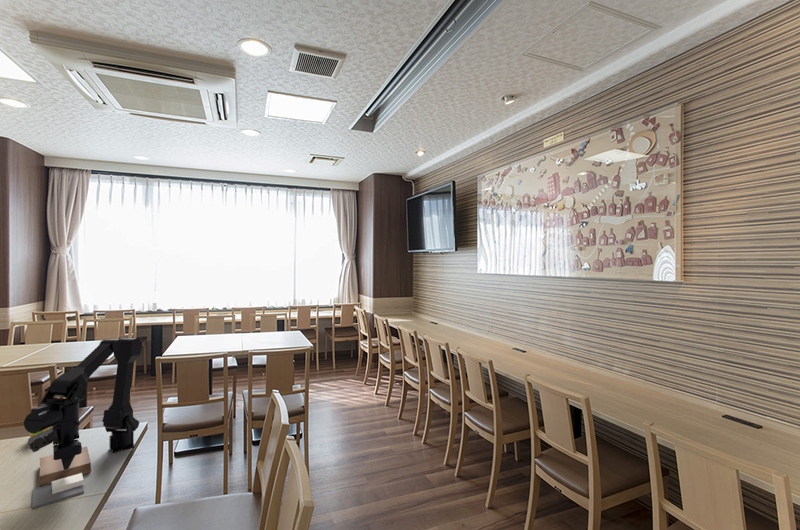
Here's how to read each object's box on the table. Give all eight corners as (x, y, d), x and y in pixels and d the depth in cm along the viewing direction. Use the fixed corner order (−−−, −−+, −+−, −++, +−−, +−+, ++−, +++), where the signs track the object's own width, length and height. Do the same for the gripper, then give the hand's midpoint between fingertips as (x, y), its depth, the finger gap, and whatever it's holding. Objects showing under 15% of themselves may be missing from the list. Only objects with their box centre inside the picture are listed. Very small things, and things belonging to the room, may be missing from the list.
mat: (81, 476, 121) (81, 475, 121) (83, 492, 113) (83, 491, 113) (32, 490, 113) (32, 488, 113) (31, 509, 105) (31, 507, 105)
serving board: (86, 454, 134) (87, 446, 134) (90, 471, 123) (90, 462, 123) (39, 467, 125) (39, 458, 125) (39, 486, 115) (39, 476, 115)
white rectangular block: (83, 479, 116) (83, 484, 116) (81, 472, 119) (81, 477, 119) (52, 489, 111) (52, 494, 111) (51, 481, 114) (51, 486, 114)
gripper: (31, 415, 119) (30, 465, 119) (29, 437, 105) (29, 493, 105) (77, 406, 126) (77, 453, 127) (82, 425, 113) (81, 478, 113)
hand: (66, 468), depth 118 cm, fingers closed
